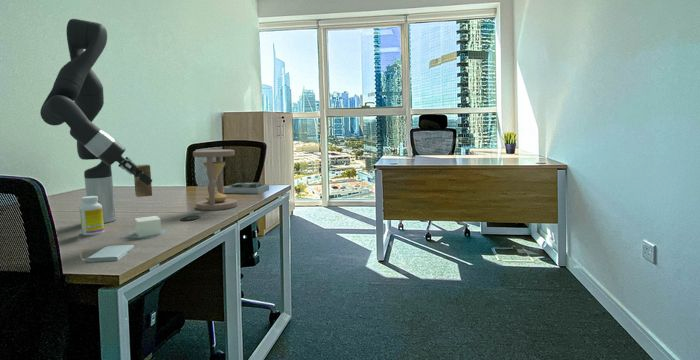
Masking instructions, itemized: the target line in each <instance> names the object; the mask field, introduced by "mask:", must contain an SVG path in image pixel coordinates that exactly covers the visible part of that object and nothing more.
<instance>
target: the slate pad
mask: <svg viewBox="0 0 700 360" xmlns="http://www.w3.org/2000/svg"><path fill="white" fill-rule="evenodd" d="M161 230H162V234H166V233H168V232H170V231H172V229H170V228H169V229H167V228H166V229H164V228H163V229H162V228H161ZM162 234H157V235H150V236H143V237H139V236H138V235H137V234H136V231H134V232H130V233H129V234H126V235H123V236H122V238H128V239H153V238H155V237H159V236H160V235H162Z"/></svg>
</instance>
